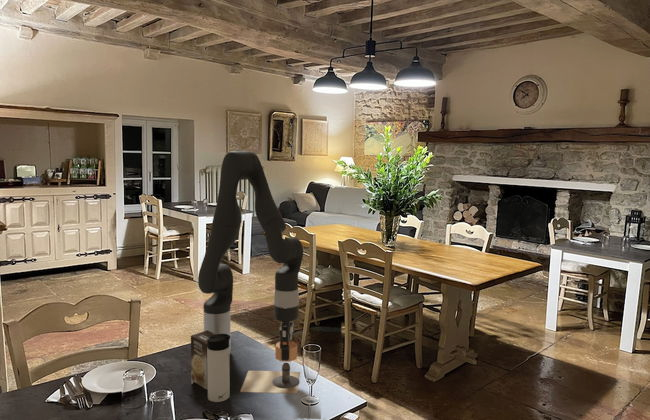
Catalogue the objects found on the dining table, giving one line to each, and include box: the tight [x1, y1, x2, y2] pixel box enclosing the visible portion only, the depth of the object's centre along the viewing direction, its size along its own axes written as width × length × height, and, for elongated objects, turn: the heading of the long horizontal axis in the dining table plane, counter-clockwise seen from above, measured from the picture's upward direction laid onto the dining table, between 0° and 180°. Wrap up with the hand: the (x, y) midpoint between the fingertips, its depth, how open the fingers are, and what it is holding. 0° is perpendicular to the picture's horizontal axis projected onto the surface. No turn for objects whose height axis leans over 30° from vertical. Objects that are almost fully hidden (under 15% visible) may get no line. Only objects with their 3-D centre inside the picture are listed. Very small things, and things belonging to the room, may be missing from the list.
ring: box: [275, 340, 298, 363], centre depth 148 cm, size 6×6×4 cm
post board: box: [239, 362, 301, 395], centre depth 149 cm, size 17×14×8 cm
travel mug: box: [207, 334, 231, 403], centre depth 138 cm, size 6×7×20 cm
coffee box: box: [190, 330, 216, 391], centre depth 148 cm, size 9×6×16 cm
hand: (286, 355), depth 148 cm, fingers closed on ring, 6 cm apart
